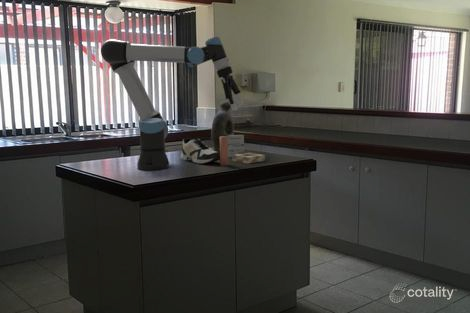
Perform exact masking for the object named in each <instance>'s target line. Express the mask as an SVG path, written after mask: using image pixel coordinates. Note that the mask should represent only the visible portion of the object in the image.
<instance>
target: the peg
mask: <svg viewBox="0 0 470 313" xmlns="http://www.w3.org/2000/svg"><path fill="white" fill-rule="evenodd" d="M219 165H220V166H229V157H228V137H227V136H221V137H220V160H219Z"/></svg>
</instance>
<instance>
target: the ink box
mask: <svg viewBox="0 0 470 313" xmlns="http://www.w3.org/2000/svg"><path fill="white" fill-rule="evenodd" d="M243 153H245V135H244V134H233V135H228V158H232V155H235V154H243Z"/></svg>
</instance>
